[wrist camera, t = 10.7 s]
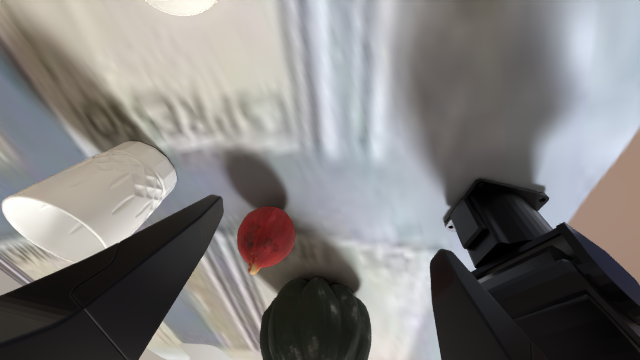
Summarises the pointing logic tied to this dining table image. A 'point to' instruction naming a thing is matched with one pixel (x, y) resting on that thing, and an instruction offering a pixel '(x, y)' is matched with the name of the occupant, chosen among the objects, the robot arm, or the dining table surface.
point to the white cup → (92, 201)
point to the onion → (265, 237)
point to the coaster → (182, 6)
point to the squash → (315, 323)
